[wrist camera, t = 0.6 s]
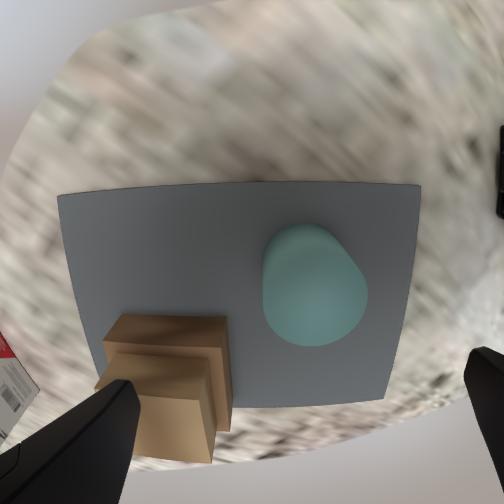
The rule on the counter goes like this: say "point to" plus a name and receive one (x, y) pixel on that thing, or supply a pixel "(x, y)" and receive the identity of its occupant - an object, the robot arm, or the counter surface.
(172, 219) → the slate mat
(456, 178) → the counter surface
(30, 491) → the robot arm
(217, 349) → the walnut base block
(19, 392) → the ink box
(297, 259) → the teal cylinder
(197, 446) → the oak block
